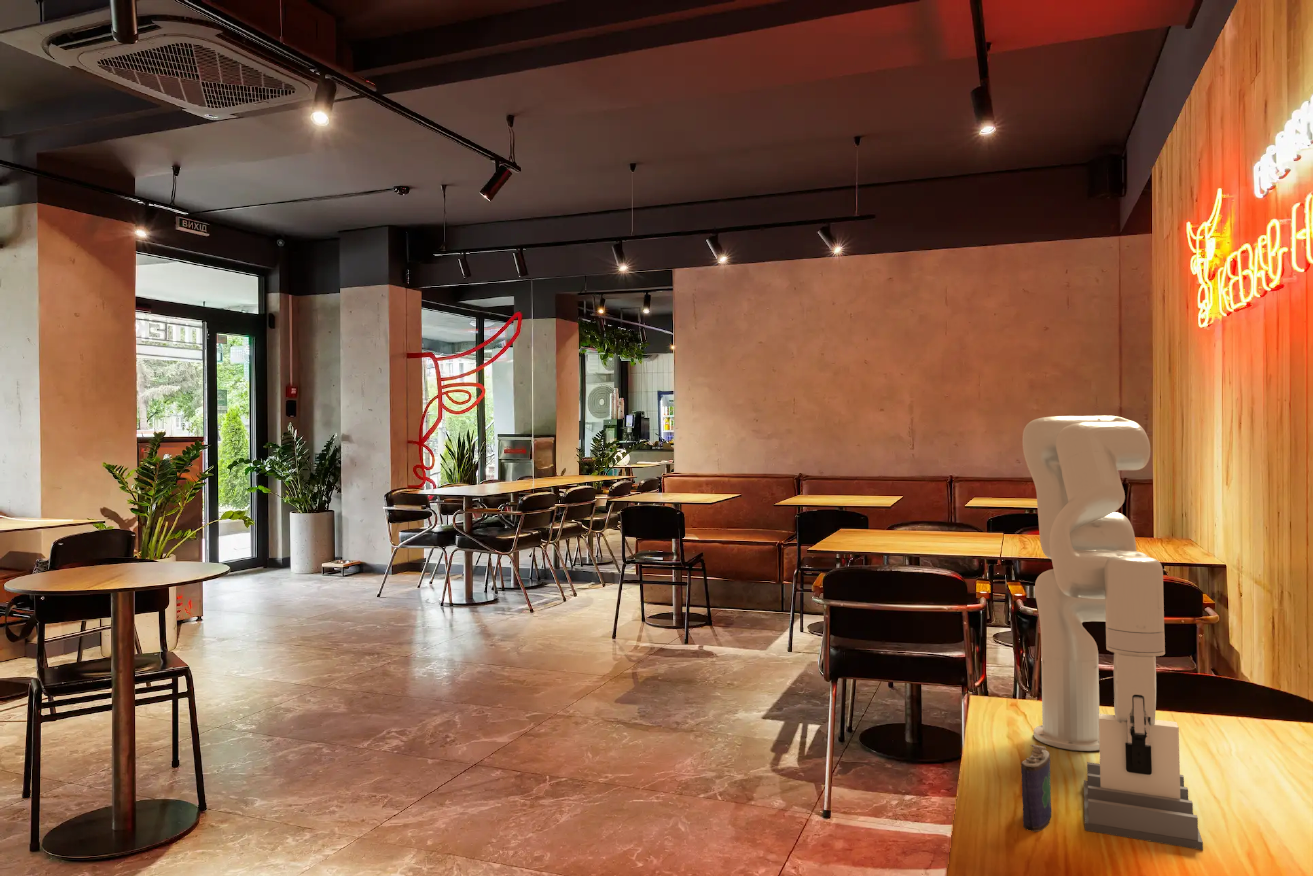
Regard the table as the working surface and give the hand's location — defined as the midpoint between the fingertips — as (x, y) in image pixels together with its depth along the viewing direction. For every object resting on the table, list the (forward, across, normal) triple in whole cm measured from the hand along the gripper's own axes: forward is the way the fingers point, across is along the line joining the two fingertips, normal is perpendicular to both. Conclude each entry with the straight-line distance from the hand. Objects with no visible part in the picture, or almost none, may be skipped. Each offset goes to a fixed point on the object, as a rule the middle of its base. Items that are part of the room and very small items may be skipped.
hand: (1137, 767), depth 125 cm
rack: (+7, 0, 0) cm, 7 cm away
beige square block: (+3, 0, 0) cm, 3 cm away
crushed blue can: (+7, +8, -13) cm, 17 cm away
